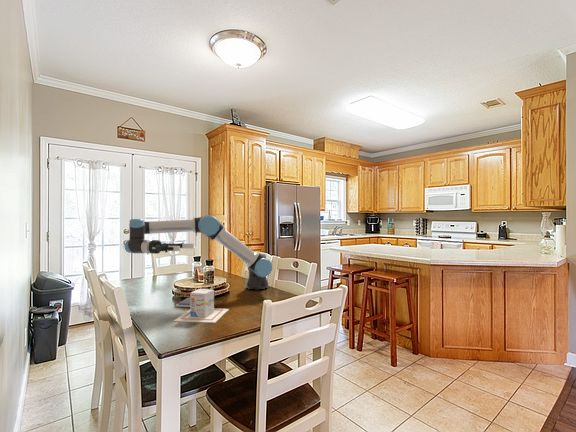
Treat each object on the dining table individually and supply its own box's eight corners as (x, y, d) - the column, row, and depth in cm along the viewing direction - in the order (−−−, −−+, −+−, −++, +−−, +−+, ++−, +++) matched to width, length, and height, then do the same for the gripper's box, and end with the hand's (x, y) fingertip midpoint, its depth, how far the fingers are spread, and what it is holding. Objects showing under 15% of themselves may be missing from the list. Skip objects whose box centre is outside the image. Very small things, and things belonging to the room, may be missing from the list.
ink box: (189, 316, 147) (189, 292, 147) (199, 311, 155) (199, 288, 155) (205, 317, 145) (205, 293, 145) (214, 312, 153) (214, 289, 153)
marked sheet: (228, 309, 159) (228, 308, 159) (215, 322, 139) (215, 321, 139) (192, 308, 161) (192, 307, 161) (173, 321, 141) (173, 320, 141)
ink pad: (211, 300, 176) (211, 297, 176) (202, 307, 163) (202, 304, 163) (187, 299, 178) (187, 296, 178) (175, 306, 164) (175, 303, 164)
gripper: (165, 250, 182) (198, 251, 178) (136, 256, 158) (173, 257, 153) (165, 238, 182) (198, 238, 178) (136, 241, 158) (173, 242, 153)
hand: (186, 247), depth 165 cm, fingers open, 13 cm apart
